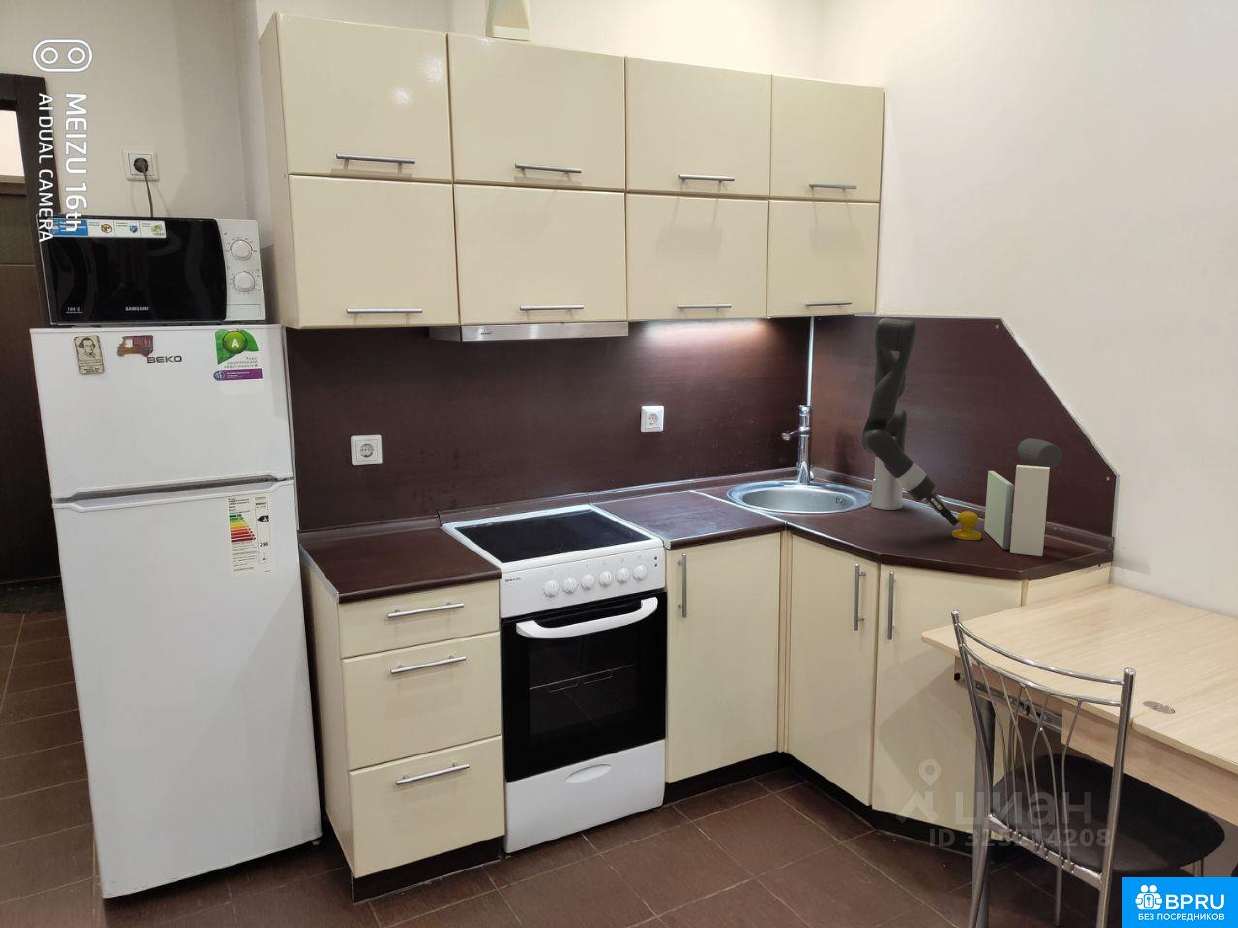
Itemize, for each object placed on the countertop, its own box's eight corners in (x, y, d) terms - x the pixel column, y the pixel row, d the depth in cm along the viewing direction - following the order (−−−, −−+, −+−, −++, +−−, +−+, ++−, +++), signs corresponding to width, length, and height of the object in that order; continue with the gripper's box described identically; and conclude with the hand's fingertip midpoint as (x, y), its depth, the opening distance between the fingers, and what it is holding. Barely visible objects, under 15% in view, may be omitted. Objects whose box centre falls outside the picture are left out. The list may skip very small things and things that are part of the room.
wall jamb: (1009, 552, 243) (1016, 466, 239) (1010, 549, 246) (1017, 464, 241) (1042, 556, 239) (1049, 469, 235) (1042, 553, 242) (1049, 467, 237)
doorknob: (978, 533, 262) (983, 540, 255) (950, 532, 264) (954, 539, 256) (980, 509, 261) (985, 515, 253) (951, 508, 262) (956, 514, 255)
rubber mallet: (1008, 538, 257) (1016, 436, 251) (1033, 538, 257) (1042, 436, 251) (1030, 550, 244) (1038, 443, 239) (1056, 550, 245) (1065, 443, 239)
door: (983, 529, 264) (987, 470, 261) (990, 529, 264) (994, 470, 261) (1003, 549, 244) (1008, 485, 241) (1010, 549, 244) (1015, 485, 240)
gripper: (929, 477, 251) (971, 520, 252) (920, 468, 264) (961, 509, 265) (908, 494, 253) (950, 537, 253) (901, 485, 266) (941, 526, 266)
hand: (955, 523), depth 259 cm, fingers closed
